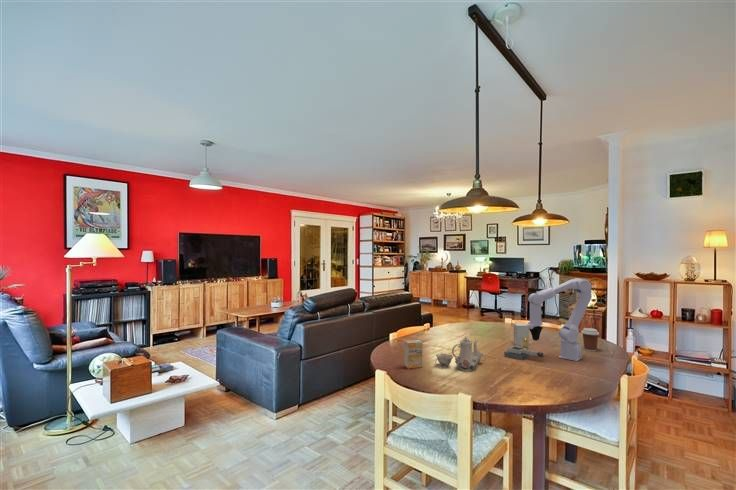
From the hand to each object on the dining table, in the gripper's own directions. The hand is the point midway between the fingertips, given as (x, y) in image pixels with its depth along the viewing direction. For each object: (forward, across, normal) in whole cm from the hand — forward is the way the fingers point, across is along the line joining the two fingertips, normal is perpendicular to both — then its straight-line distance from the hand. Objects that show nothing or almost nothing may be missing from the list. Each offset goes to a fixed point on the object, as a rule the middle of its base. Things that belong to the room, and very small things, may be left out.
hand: (535, 340), depth 198 cm
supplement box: (+10, +60, -38) cm, 72 cm away
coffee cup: (+10, -37, +17) cm, 42 cm away
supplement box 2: (+10, -21, -17) cm, 29 cm away
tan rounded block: (+9, -3, -7) cm, 12 cm away
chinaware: (+10, +42, -20) cm, 47 cm away
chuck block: (+9, +6, -8) cm, 14 cm away
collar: (+7, +6, -3) cm, 10 cm away
